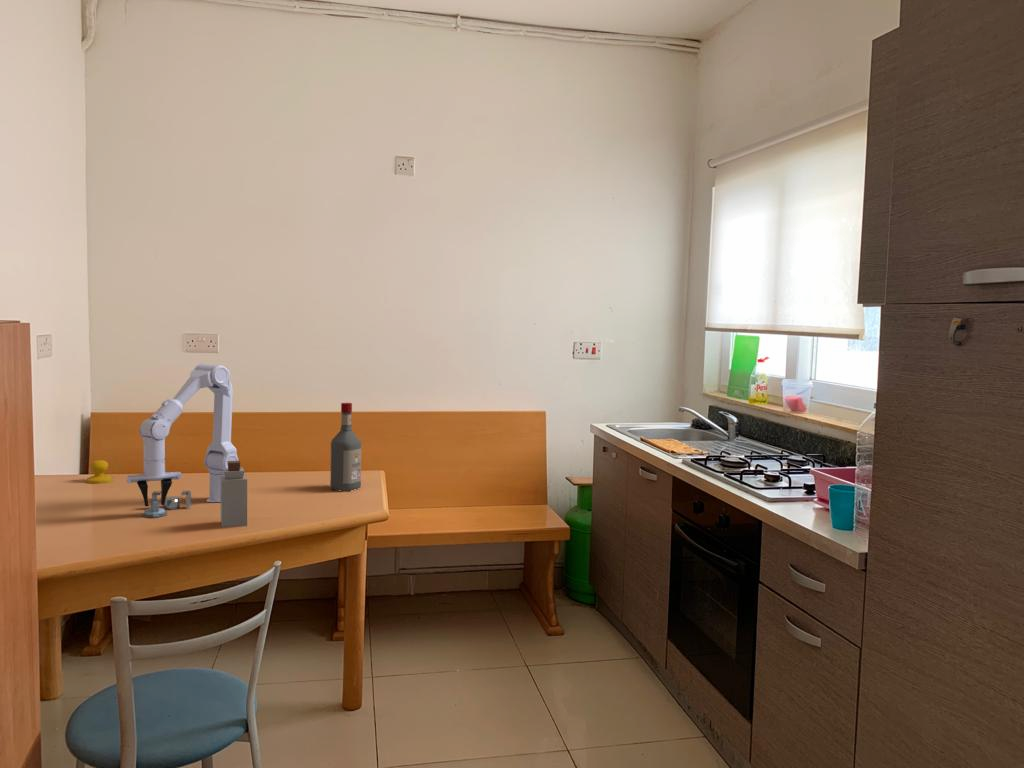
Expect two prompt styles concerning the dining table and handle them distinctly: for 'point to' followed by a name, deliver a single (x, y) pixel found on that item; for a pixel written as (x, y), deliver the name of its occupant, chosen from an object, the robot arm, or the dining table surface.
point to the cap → (154, 509)
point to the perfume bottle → (233, 496)
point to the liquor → (345, 455)
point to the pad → (154, 517)
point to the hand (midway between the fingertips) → (154, 505)
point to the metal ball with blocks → (174, 500)
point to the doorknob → (99, 472)
